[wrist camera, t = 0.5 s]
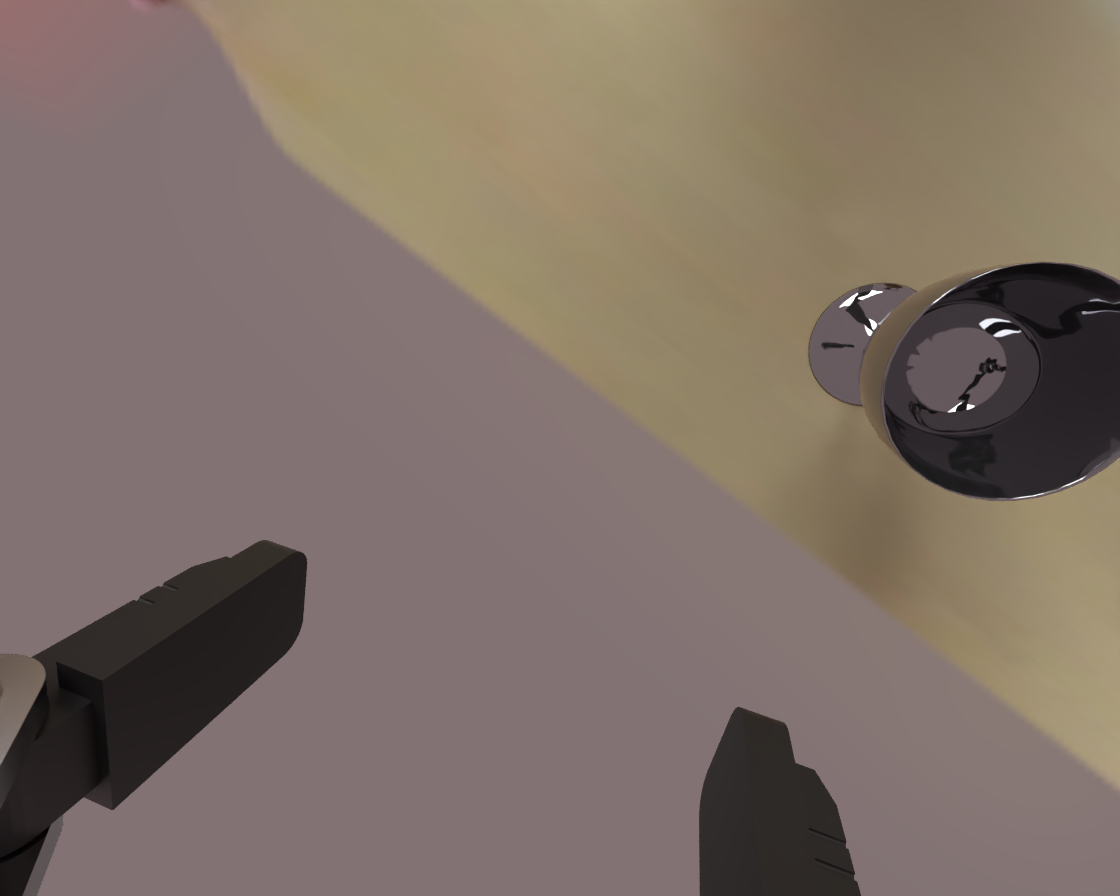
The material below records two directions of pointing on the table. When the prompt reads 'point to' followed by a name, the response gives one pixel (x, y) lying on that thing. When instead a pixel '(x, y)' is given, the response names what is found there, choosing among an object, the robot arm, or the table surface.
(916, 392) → the silver goblet
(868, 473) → the table surface
